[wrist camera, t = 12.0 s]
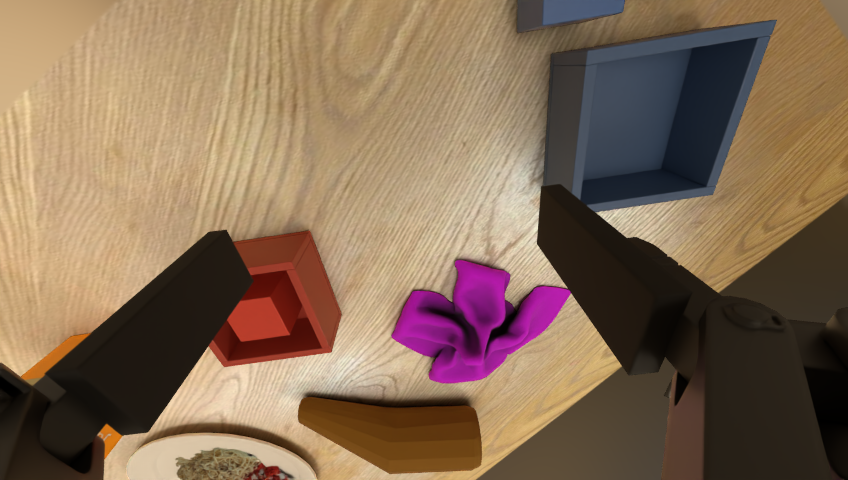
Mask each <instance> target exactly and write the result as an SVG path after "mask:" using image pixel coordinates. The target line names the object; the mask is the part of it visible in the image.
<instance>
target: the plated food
mask: <svg viewBox="0 0 848 480" xmlns="http://www.w3.org/2000/svg"><path fill="white" fill-rule="evenodd" d="M126 469H127V476H128V478H129V479H130V480H317V477H316V474H315V472H314V470H313V469H312V468H311V466H310V465H309V464H308V463H307V462H306V461H304V460H303V459H302V458H301V457H299V456H298V455H296V454H294V453H292V452H290V451H289V450H287V449H285V448H282V447H280V446H277V445H274V444H272V443H269V442H266V441H262V440H258V439H254V438H250V437H245V436H238V435H232V434H221V433H186V434H180V435H173V436H167V437H164V438H161V439H157V440H154V441H151V442H149V443H147V444H146V445H144V446H142V447H140V448H139V449H138V450H137V451H136V452H135V453H133V454H132V456H131V457H130V459H129V461H128V463H127V466H126Z"/></svg>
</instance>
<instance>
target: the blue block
mask: <svg viewBox="0 0 848 480" xmlns="http://www.w3.org/2000/svg"><path fill="white" fill-rule="evenodd" d="M624 4H625V0H517V33H522V32H528V31H534V30H540V29H546V28H552V27H558V26H564V25H570V24H576V23H582V22H586V21H590V20H594V19H598V18H602V17H606V16H610V15H615V14H619V13H622V12H623V10H624Z"/></svg>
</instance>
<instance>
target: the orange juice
mask: <svg viewBox="0 0 848 480" xmlns="http://www.w3.org/2000/svg"><path fill="white" fill-rule="evenodd" d="M90 334H91V333H89V334H82V335H75V336H71V337H69V338H68V339H67V340H66V341H64V342H63V343H62V344H61V345H59V346H58V347H57V348H56V349H54V350H53V351H52V352H51V353H49V354H48V355H47V356H46V357H44V358H43V359H42V360H41V361H40V362H38V363H37V364H36V365H35V366H33V367H32V368H31V369H30V370H28V371H27V372H26V373H25V374H23V375H22V376H21V378H22V379H24V380H25V381H26V382H28V383H29V384H30V385H32V386H33V385H34V384H35V383H36V382H37V381H38V380H40V379H41V378H42V377H43V376H44V375H45V374H44V373H45V372H46V371H48V370H49V369H50V368H51V367H52V366H53V365H55V364H56V363H57V362H58V361H59V360H60V359H62V358H63V357H64V356H65V355H66V354H67V353H69V352H70V351H71V350H72V349H73V348H74V347H76V346H77V345H78V344H79V343H80V342H81V341H83V340H84V339H85V338H86V337H87V336H88V335H90ZM98 436H99V437H101V438H102V439H103V440H104V443H105V456H104V459H105V458H106V457H107V455H108V454H109V453H110V452H111V450H112V449H113V448H114V446H115V445H116V444H117V442H118V441H119V440H120V439H121V437H122V436H124V435H120V434H119V433H118V432H116V431H115V430H114V429H113V428H111V427H110V426H109V425H108V424H106V425H105V426H104V427H103V429H102V430H101V431H100V432H99V433H98Z"/></svg>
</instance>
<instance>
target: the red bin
mask: <svg viewBox="0 0 848 480" xmlns="http://www.w3.org/2000/svg"><path fill="white" fill-rule="evenodd" d="M233 243H234V245H235V247H236V249H237V250H238V252H239V254H240V256H241V258H242V260H243V262H244V263H245V265H246V267H247V269H248V271H249V273H250V275H255V274H262V273H269V272H276V271H282V270H286V271H287V273H288V275H289V277H290V280H291V282H292V284H293V286H294V288H295V290H296V293H297V295H298V297H299V299H300V301H301V303H302V308H301V310H300V312H299V315H298V317H297V319H296V322H295V324H294V326H293V328H292V331H291V333H290V335H286V336H279V337H271V338H264V339H257V340H250V341H243V342H241V341H240V339H239V338H238V336H237V335H236V333H235V332H234V330H233V328H232V327H231V325H230V324H229V322H228V321H227V320H226V322H225V323H224V325H223V326H222V327H221V329H220V330H219V332H218V333H217V335H216V336H215V337H214V339H213V340H212V342H211V343H210V345H209V347H210V349H211V350H212V351H213V353H214V354H215V356H216V357H217V358H218V360H219V361H220V362H221V364H222V365H223V366H224V367H228V366H235V365H243V364H250V363H257V362H265V361H272V360H279V359H286V358H294V357H301V356H308V355H316V354H323V353H330V352H332V349H333V345H334V341H335V337H336V334H337V330H338V326H339V322H340V318H341V315H342V314H341V311H340V309H339V306H338V303H337V301H336V298H335V295H334V293H333V290H332V288H331V285H330V282H329V280H328V277H327V274H326V272H325V269H324V267H323V264H322V261H321V259H320V256H319V253H318V251H317V248H316V246H315V243H314V240H313V238H312V235H311V232H310V231H303V232H297V233H290V234H283V235H277V236H270V237H263V238H257V239H250V240H244V241H237V242H233Z"/></svg>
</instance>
